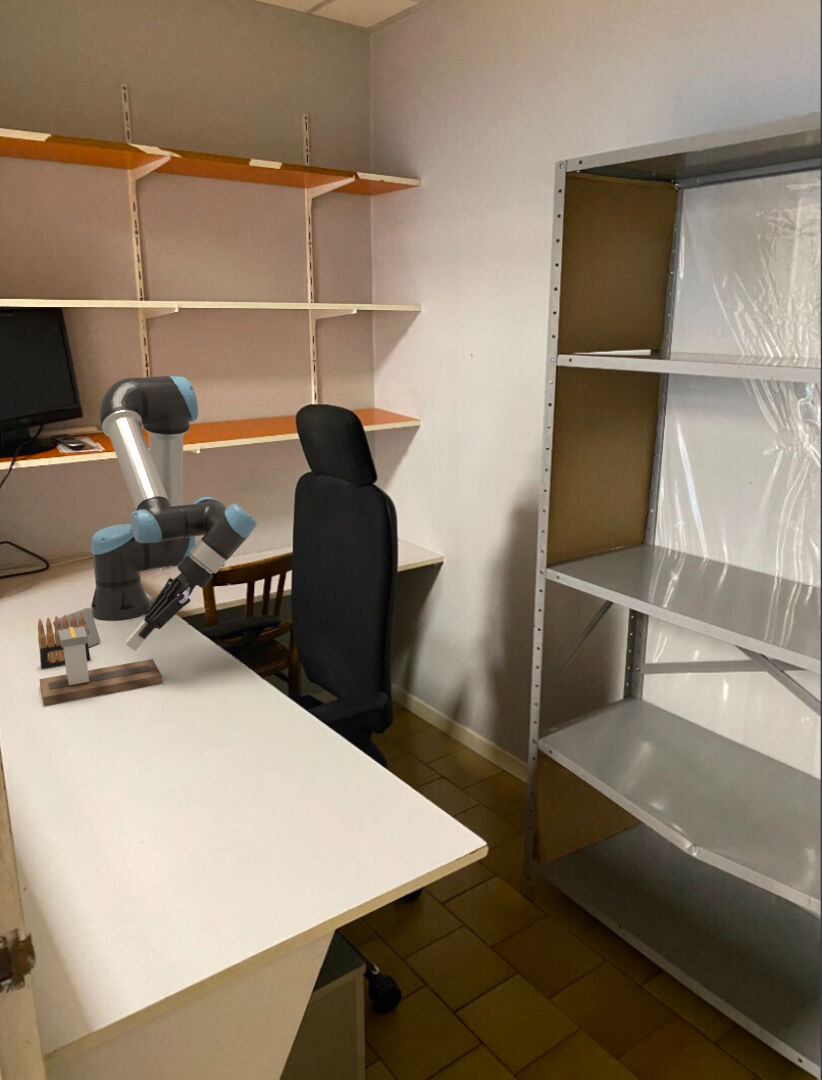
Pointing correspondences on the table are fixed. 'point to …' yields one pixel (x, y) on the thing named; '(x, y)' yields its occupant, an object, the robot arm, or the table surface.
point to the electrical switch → (89, 624)
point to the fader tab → (75, 654)
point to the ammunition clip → (56, 642)
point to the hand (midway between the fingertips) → (129, 646)
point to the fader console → (101, 682)
